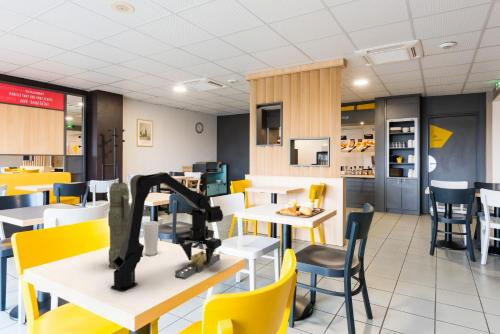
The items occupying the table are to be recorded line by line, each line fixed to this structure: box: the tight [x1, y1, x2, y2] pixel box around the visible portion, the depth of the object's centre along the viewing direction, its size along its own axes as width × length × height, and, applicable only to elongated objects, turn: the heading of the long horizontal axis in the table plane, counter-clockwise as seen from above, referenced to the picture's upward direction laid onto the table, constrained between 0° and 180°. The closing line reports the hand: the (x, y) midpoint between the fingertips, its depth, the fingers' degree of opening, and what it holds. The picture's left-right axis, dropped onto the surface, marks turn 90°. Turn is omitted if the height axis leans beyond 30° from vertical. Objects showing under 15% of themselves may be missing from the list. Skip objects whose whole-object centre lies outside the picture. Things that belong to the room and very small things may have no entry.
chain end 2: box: [206, 253, 221, 268], centre depth 133 cm, size 11×7×2 cm, turn 154°
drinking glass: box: [143, 220, 159, 256], centre depth 145 cm, size 7×7×15 cm
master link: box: [190, 250, 207, 268], centre depth 127 cm, size 6×4×6 cm, turn 154°
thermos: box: [107, 182, 131, 270], centre depth 130 cm, size 9×12×35 cm
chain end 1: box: [174, 262, 205, 280], centre depth 121 cm, size 11×7×2 cm, turn 154°
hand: (199, 261), depth 127 cm, fingers open, 9 cm apart
